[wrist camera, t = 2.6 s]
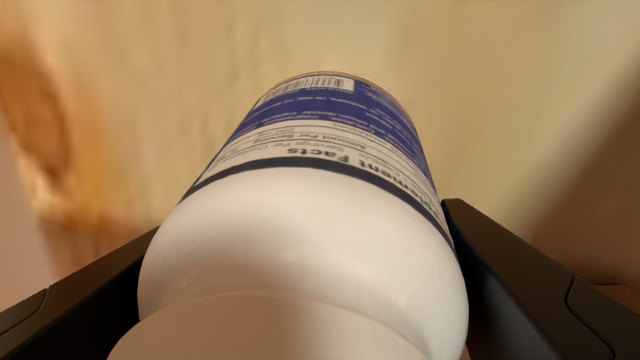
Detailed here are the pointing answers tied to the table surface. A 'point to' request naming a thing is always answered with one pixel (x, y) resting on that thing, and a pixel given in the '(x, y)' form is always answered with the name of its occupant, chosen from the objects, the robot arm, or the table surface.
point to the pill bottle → (306, 240)
